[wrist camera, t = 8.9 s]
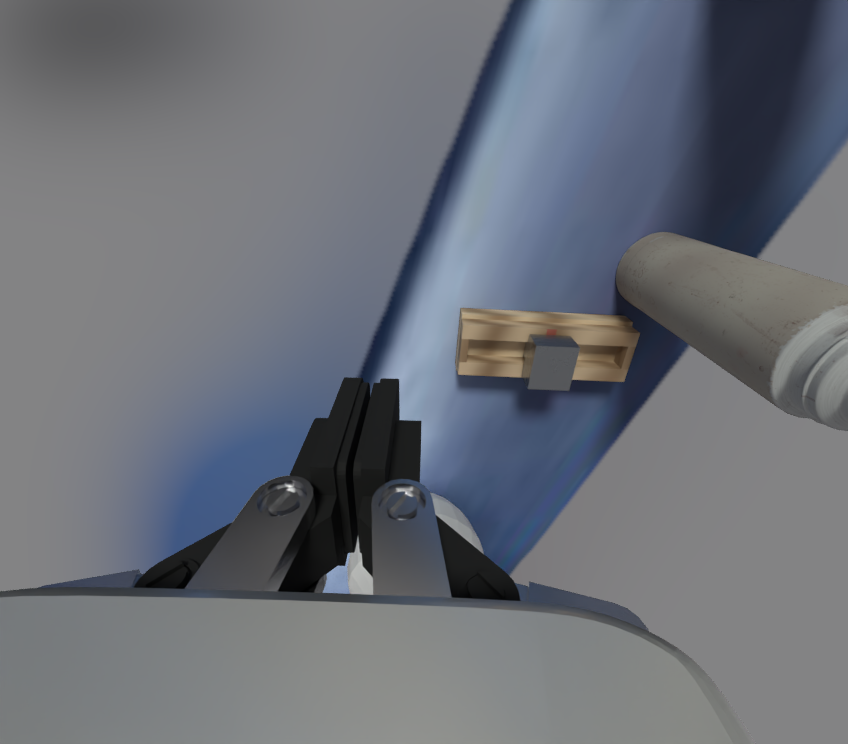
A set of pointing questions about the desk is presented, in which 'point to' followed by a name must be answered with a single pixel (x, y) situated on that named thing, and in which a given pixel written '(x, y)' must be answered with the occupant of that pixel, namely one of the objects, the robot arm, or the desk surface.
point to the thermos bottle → (748, 320)
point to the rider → (549, 362)
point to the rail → (537, 316)
